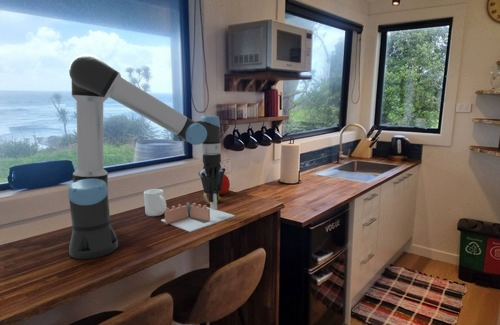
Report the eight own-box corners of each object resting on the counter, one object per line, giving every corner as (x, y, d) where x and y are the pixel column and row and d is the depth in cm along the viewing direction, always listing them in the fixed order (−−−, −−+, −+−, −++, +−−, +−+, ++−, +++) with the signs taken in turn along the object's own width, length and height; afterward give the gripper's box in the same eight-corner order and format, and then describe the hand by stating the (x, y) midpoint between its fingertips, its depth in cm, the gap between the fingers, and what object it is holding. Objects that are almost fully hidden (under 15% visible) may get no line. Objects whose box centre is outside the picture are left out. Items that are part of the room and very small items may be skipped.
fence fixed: (167, 225, 140) (166, 208, 139) (165, 224, 141) (164, 208, 140) (191, 217, 149) (190, 202, 148) (189, 217, 150) (188, 201, 149)
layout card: (187, 232, 131) (187, 231, 131) (158, 221, 145) (158, 220, 145) (235, 216, 149) (235, 215, 149) (205, 207, 163) (205, 206, 163)
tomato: (234, 194, 184) (233, 173, 182) (210, 199, 177) (209, 176, 175) (222, 189, 195) (222, 169, 193) (199, 193, 188) (198, 172, 186)
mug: (173, 214, 154) (172, 191, 153) (158, 219, 148) (156, 195, 146) (156, 209, 162) (155, 188, 160) (141, 214, 155) (139, 191, 154)
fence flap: (189, 217, 147) (188, 203, 146) (192, 216, 149) (191, 202, 148) (207, 221, 142) (206, 206, 140) (210, 220, 143) (209, 205, 142)
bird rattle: (214, 209, 167) (223, 197, 174) (207, 190, 162) (217, 179, 168) (204, 207, 171) (213, 196, 177) (197, 189, 165) (207, 178, 171)
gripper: (205, 156, 136) (207, 214, 140) (229, 152, 145) (231, 207, 149) (193, 154, 141) (195, 210, 145) (217, 151, 150) (219, 203, 154)
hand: (213, 208), depth 147 cm, fingers closed
